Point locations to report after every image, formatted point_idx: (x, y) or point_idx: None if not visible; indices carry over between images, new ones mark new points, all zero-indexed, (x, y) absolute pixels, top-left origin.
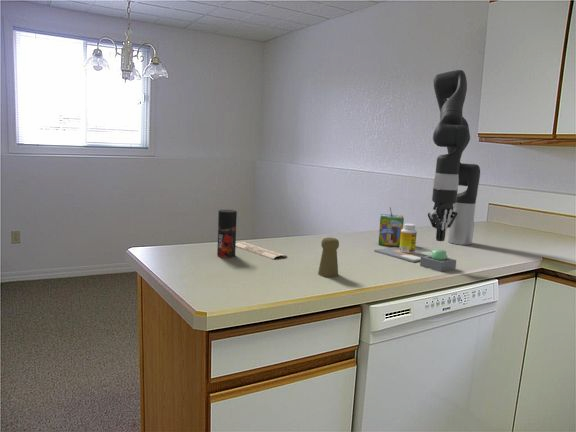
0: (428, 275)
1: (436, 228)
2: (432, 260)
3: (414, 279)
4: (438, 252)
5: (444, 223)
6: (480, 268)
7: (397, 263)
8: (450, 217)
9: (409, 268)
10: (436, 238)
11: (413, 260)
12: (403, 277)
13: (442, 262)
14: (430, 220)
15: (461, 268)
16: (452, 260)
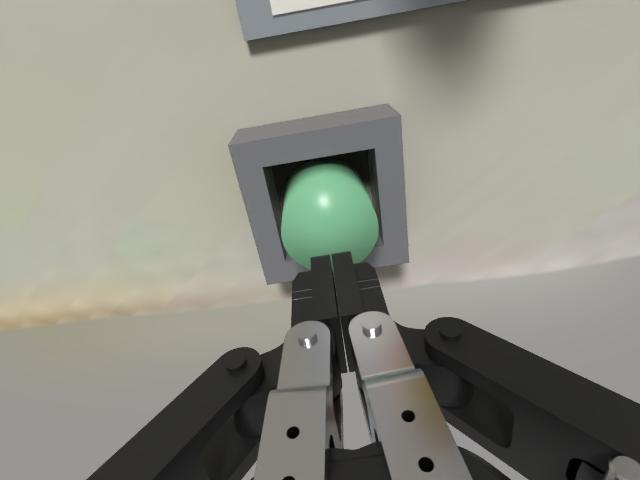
0: (164, 285)
1: (276, 353)
2: (252, 231)
3: (56, 314)
4: (292, 258)
5: (368, 428)
6: (533, 261)
7: (110, 22)
8: (556, 468)
9: (132, 158)
10: (296, 280)
11: (253, 29)
12: (13, 281)
13: (277, 282)
14: (127, 454)
15: (438, 237)
16: (373, 266)
